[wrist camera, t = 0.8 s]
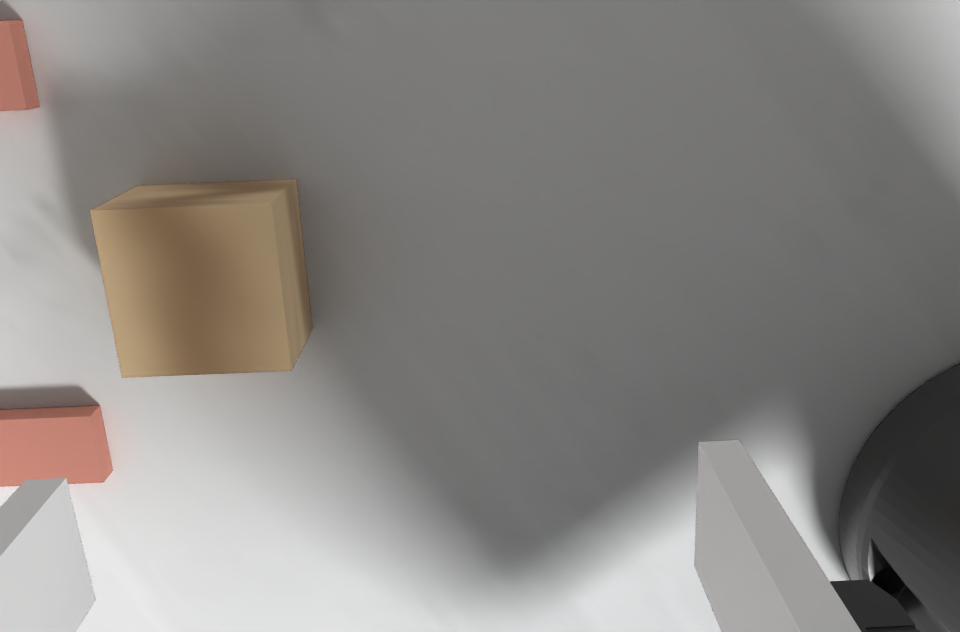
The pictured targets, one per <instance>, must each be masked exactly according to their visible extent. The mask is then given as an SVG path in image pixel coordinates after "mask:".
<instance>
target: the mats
mask: <svg viewBox="0 0 960 632" xmlns="http://www.w3.org/2000/svg"><path fill="white" fill-rule="evenodd" d="M37 107H40V106H39V101H38V96H37V91H36V86H35V81H34V76H33V71H32V66H31V61H30V56H29V51H28V46H27V41H26V36H25V31H24V26H23V21H22V20H7V21H0V111H10V110H28V109H33V108H37ZM112 471H113V469H112V464H111V459H110V454H109V449H108V444H107V439H106V434H105V429H104V424H103V419H102V414H101V409H100V406H80V407H56V408H31V409H7V410H0V487H4V486H20V485H21V484H22V483H23V482H24V481H25V480H35V479H53V478H66V479H67V483H68V484H77V483H102V482H104V481H105V480H106V479H107V477H108V476H109V475H110V473H111V472H112Z"/></svg>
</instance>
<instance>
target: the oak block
mask: <svg viewBox="0 0 960 632" xmlns="http://www.w3.org/2000/svg"><path fill="white" fill-rule="evenodd" d="M90 214H91V219H92V224H93V229H94V235H95V240H96V245H97V250H98V255H99V261H100V266H101V271H102V276H103V282H104V287H105V292H106V297H107V303H108V308H109V313H110V318H111V323H112V329H113V334H114V339H115V344H116V350H117V355H118V360H119V365H120V371H121V376H122V378H126V377H151V376H176V375H200V374H225V373H250V372H275V371H292V369H293V367H294V365H295V363H296V361H297V359H298V357H299V355H300V353H301V351H302V349H303V347H304V345H305V343H306V341H307V339H308V337H309V335H310V332H311V330H312V319H311V310H310V300H309V291H308V282H307V273H306V264H305V255H304V245H303V236H302V227H301V218H300V209H299V200H298V191H297V181H296V179H285V180H261V181H236V182H212V183H188V184H164V185H139V186H136V187H134V188H132V189H130V190H128V191H126V192H124V193H122V194H120V195H119V196H117V197H115V198H113V199H111V200H109V201H107V202H105V203H103V204H102V205H100V206H98V207H96V208H94V209H92V210H90Z"/></svg>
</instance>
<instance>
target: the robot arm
mask: <svg viewBox="0 0 960 632" xmlns="http://www.w3.org/2000/svg"><path fill="white" fill-rule="evenodd" d="M839 539H840V547H841V552H842V557H843V560H844V564H845V567H846V569H847V572H848V574H849V577H850V579H851V580H849V581H831V582H829V580H828V578H827V577H826V575H825V574H824V572H823V571H822V569H821V567H820V566H819V564H818V563H817V561H816V560H815V558H814V556H813V555H812V553H811V552H810V550H809V548H808V547H807V545H806V544H805V542H804V541H803V539H802V537H801V536H800V534H799V533H798V531H797V530H796V528H795V526H794V525H793V523H792V522H791V520H790V519H789V517H788V515H787V514H786V512H785V511H784V509H783V508H782V506H781V504H780V503H779V501H778V500H777V498H776V497H775V495H774V493H773V492H772V490H771V489H770V487H769V486H768V484H767V482H766V481H765V479H764V478H763V476H762V475H761V473H760V471H759V470H758V468H757V467H756V465H755V464H754V462H753V460H752V459H751V457H750V456H749V454H748V453H747V451H746V449H745V448H744V446H743V445H742V443H741V441H740V440H724V441H707V442H699V446H698V474H697V502H696V531H695V559H694V566H695V569H696V571H697V573H698V576H699V578H700V581H701V583H702V586H703V588H704V590H705V593H706V595H707V598H708V600H709V603H710V605H711V607H712V610H713V612H714V615H715V617H716V620H717V622H718V624H719V627H720V629H721V632H960V364H959V365H957V366H955V367H953V368H951V369H949V370H947V371H945V372H944V373H942V374H940V375H938V376H937V377H935V378H933V379H932V380H930V381H929V382H927V383H926V384H924V385H923V386H921V387H920V388H919V389H917V390H916V391H915V392H913V393H912V394H911V395H910V396H908V397H907V398H906V399H905V400H904V401H903V402H901V403H900V404H899V405H898V406H897V407H896V408H895V409H894V410H893V411H892V412H891V413H890V414H889V415H888V416H887V417H886V418H885V419H884V421H883V422H882V423H881V424H880V425H879V426H878V428H877V429H876V430H875V431H874V433H873V434H872V435H871V437H870V438H869V440H868V441H867V443H866V444H865V446H864V447H863V449H862V451H861V452H860V454H859V456H858V458H857V460H856V462H855V464H854V466H853V468H852V470H851V473H850V475H849V477H848V480H847V483H846V486H845V489H844V493H843V497H842V502H841V508H840V516H839ZM95 600H96V598H95V594H94V590H93V586H92V582H91V578H90V574H89V570H88V565H87V561H86V557H85V553H84V549H83V545H82V541H81V537H80V533H79V528H78V524H77V520H76V516H75V512H74V508H73V504H72V500H71V496H70V492H69V487H68V483H67V479H66V478H53V479H35V480H25V481H24V482H23V483H22V484H21V485H20V487H19V488H18V489H17V490H16V491H15V492H14V493H13V494H12V495H11V496H10V497H9V499H8V500H7V501H6V502H5V503H4V504H3V505H2V506H1V507H0V632H76V631H77V629H78V628H79V626H80V624H81V623H82V621H83V619H84V618H85V616H86V615H87V613H88V611H89V610H90V608H91V606H92V605H93V603H94V602H95Z"/></svg>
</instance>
